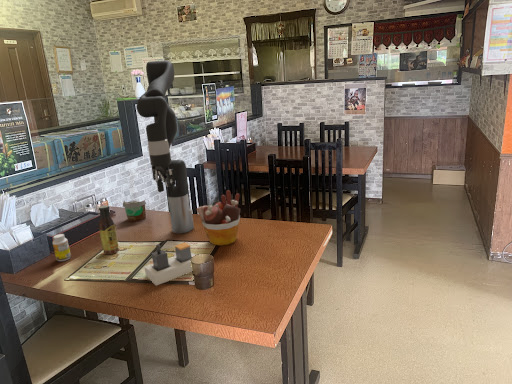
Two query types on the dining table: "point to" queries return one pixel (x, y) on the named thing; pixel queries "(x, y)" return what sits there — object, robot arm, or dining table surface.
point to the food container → (135, 210)
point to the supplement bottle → (61, 248)
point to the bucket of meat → (221, 220)
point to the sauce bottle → (107, 231)
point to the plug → (183, 252)
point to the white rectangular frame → (166, 267)
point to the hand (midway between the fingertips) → (166, 193)
